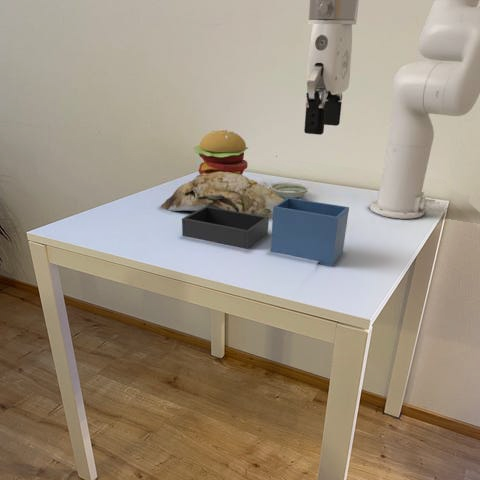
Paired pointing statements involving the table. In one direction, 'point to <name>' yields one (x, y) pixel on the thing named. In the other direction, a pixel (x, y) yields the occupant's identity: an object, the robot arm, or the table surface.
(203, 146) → the hamburger
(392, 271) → the table surface
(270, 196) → the rock
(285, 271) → the table surface
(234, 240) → the charcoal bin
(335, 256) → the blue bin
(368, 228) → the table surface
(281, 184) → the saucer
